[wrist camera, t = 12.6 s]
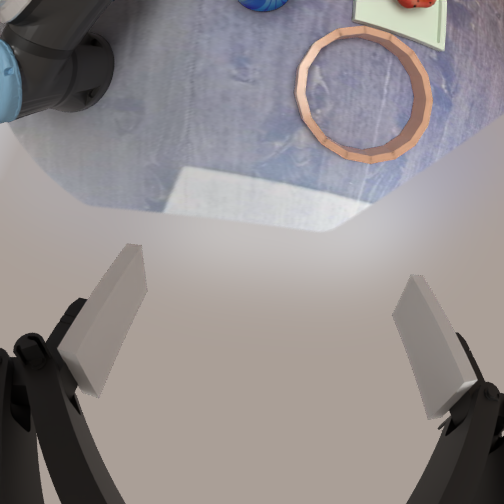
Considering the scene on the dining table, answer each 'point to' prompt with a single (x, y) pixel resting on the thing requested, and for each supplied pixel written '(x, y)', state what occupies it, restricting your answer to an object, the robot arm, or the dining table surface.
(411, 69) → the ring band
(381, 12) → the tray
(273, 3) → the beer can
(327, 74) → the dining table surface
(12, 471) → the robot arm
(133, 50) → the dining table surface
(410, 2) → the apple
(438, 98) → the dining table surface
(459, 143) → the dining table surface
